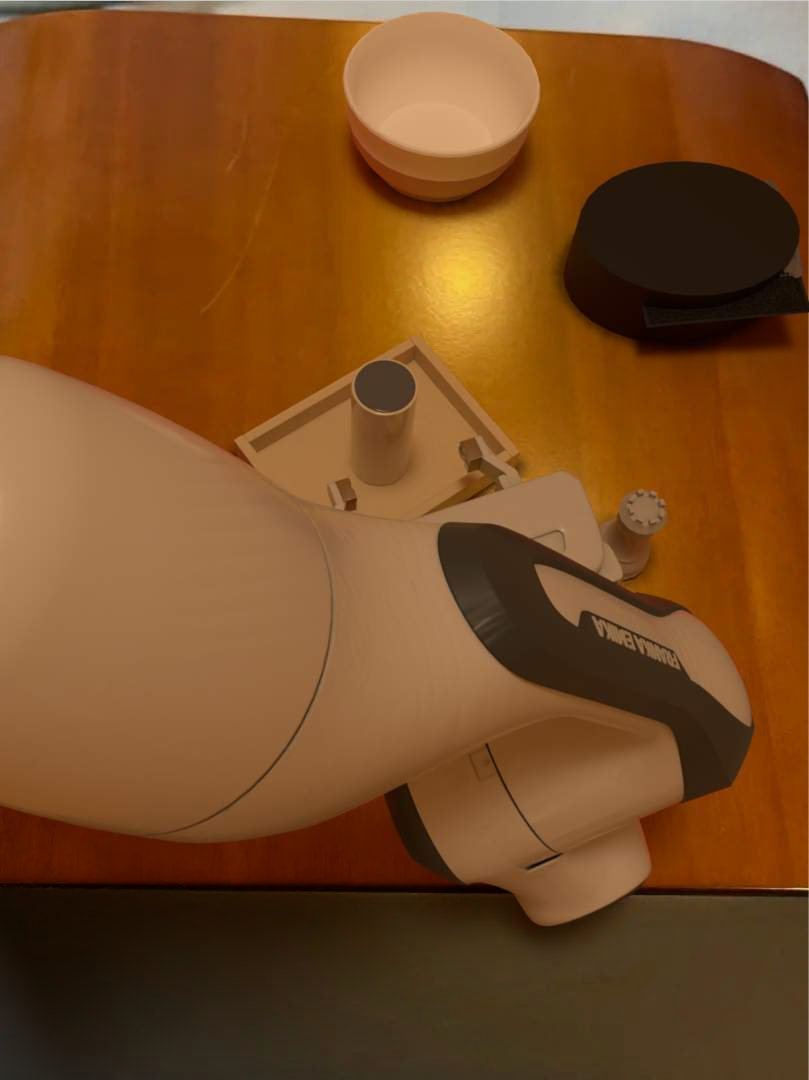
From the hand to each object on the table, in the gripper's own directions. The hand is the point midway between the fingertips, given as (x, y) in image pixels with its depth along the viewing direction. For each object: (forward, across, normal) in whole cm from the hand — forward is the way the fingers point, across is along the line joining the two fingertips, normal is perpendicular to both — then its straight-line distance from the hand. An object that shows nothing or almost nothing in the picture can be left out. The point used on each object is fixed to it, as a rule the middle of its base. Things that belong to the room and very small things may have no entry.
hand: (403, 462), depth 66 cm
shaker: (+4, 0, +7) cm, 8 cm away
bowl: (+31, -16, +7) cm, 36 cm away
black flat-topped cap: (+12, -29, +8) cm, 32 cm away
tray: (+4, 0, +7) cm, 8 cm away
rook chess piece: (-9, -14, +8) cm, 18 cm away
